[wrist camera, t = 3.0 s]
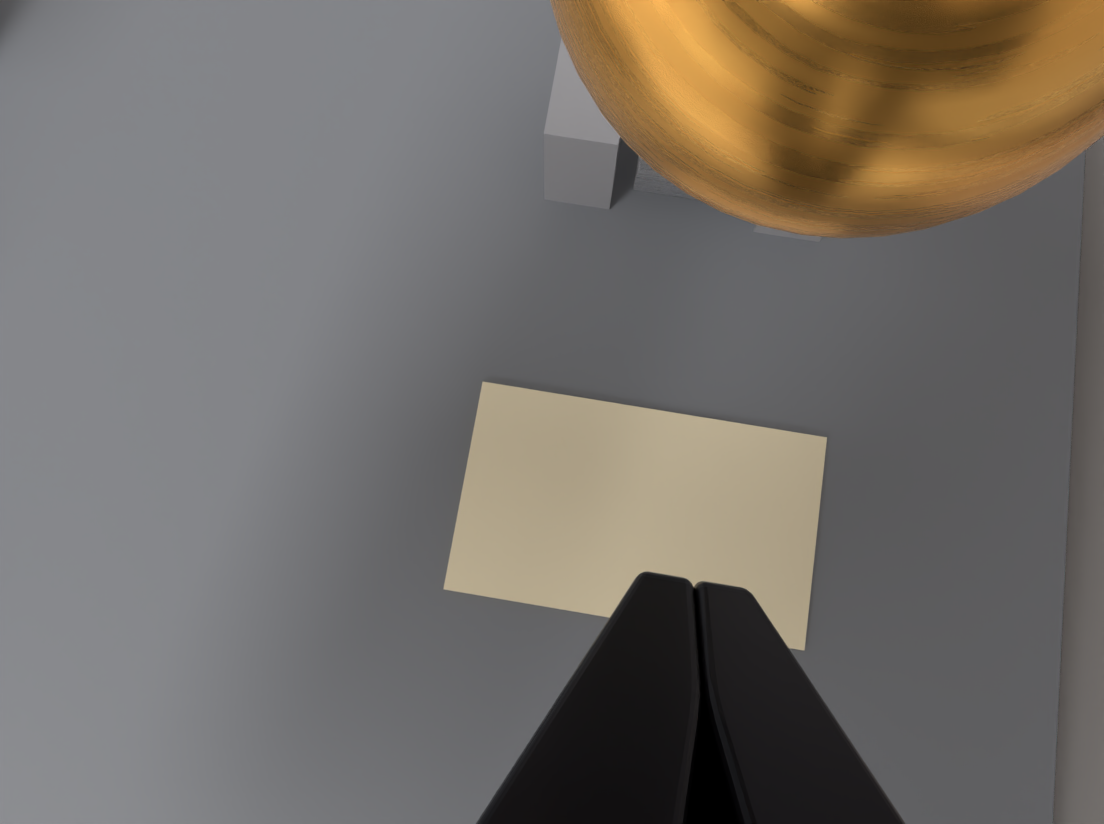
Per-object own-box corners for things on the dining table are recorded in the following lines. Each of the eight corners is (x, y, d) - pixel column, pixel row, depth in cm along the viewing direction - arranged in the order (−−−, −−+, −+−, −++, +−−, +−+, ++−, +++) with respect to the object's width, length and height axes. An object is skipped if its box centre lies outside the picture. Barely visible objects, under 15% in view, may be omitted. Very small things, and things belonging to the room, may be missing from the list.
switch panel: (987, 1056, 14) (1131, 1192, 10) (-788, 731, 15) (-1191, 758, 11) (1047, 47, 17) (1169, -98, 14) (-383, -164, 18) (-596, -349, 15)
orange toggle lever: (784, 269, 15) (1339, 292, 3) (570, 235, 15) (444, 155, 4) (827, 45, 14) (1634, -764, 3) (605, 12, 14) (584, -886, 3)
